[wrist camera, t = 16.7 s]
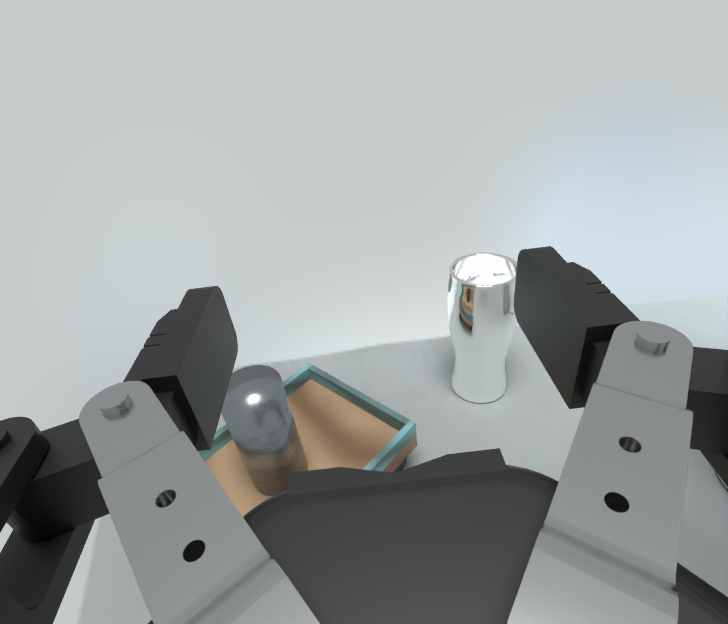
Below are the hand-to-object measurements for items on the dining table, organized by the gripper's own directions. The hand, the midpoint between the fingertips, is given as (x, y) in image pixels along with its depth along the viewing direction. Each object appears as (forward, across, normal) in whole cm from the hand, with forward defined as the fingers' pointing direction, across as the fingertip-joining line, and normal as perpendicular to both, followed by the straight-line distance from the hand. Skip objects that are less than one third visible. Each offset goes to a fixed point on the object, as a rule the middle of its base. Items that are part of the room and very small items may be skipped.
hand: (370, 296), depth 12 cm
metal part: (+14, +9, +25) cm, 31 cm away
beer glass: (+26, -11, +30) cm, 42 cm away
